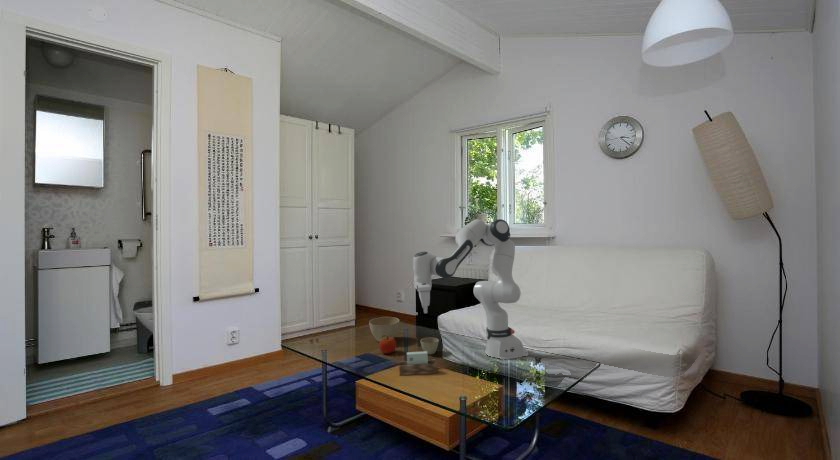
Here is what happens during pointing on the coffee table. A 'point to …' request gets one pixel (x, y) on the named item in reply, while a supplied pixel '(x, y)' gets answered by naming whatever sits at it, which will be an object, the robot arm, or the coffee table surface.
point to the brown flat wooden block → (417, 368)
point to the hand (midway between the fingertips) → (424, 310)
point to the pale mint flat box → (417, 358)
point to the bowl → (429, 345)
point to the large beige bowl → (384, 327)
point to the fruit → (387, 344)
